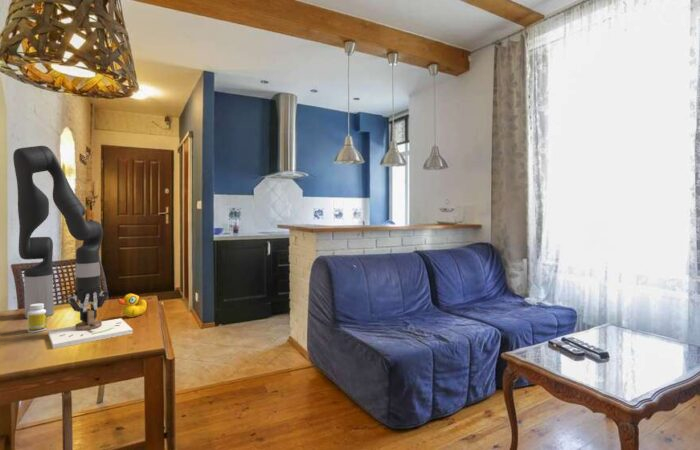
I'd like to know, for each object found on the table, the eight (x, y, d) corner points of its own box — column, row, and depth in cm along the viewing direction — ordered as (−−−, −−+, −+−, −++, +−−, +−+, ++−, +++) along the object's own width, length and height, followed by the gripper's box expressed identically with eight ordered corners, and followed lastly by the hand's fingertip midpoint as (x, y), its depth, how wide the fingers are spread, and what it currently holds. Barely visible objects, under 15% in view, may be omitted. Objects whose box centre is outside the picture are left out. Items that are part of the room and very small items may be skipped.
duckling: (122, 321, 151) (121, 296, 150) (115, 319, 154) (114, 295, 153) (149, 314, 161) (149, 291, 160) (142, 312, 163) (142, 290, 163)
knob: (72, 327, 138) (72, 310, 137) (97, 322, 144) (96, 306, 144) (83, 334, 130) (83, 316, 130) (109, 328, 137) (109, 311, 136)
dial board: (47, 334, 134) (47, 329, 134) (121, 321, 150) (121, 317, 150) (53, 348, 121) (53, 343, 121) (132, 333, 137) (132, 328, 137)
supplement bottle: (48, 330, 139) (48, 304, 138) (30, 333, 134) (29, 307, 134) (43, 327, 142) (43, 301, 142) (25, 330, 137) (24, 304, 137)
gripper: (72, 278, 130) (73, 327, 130) (113, 272, 142) (113, 317, 143) (61, 276, 133) (61, 324, 134) (101, 271, 145) (102, 314, 146)
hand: (88, 320), depth 138 cm, fingers closed on knob, 2 cm apart
